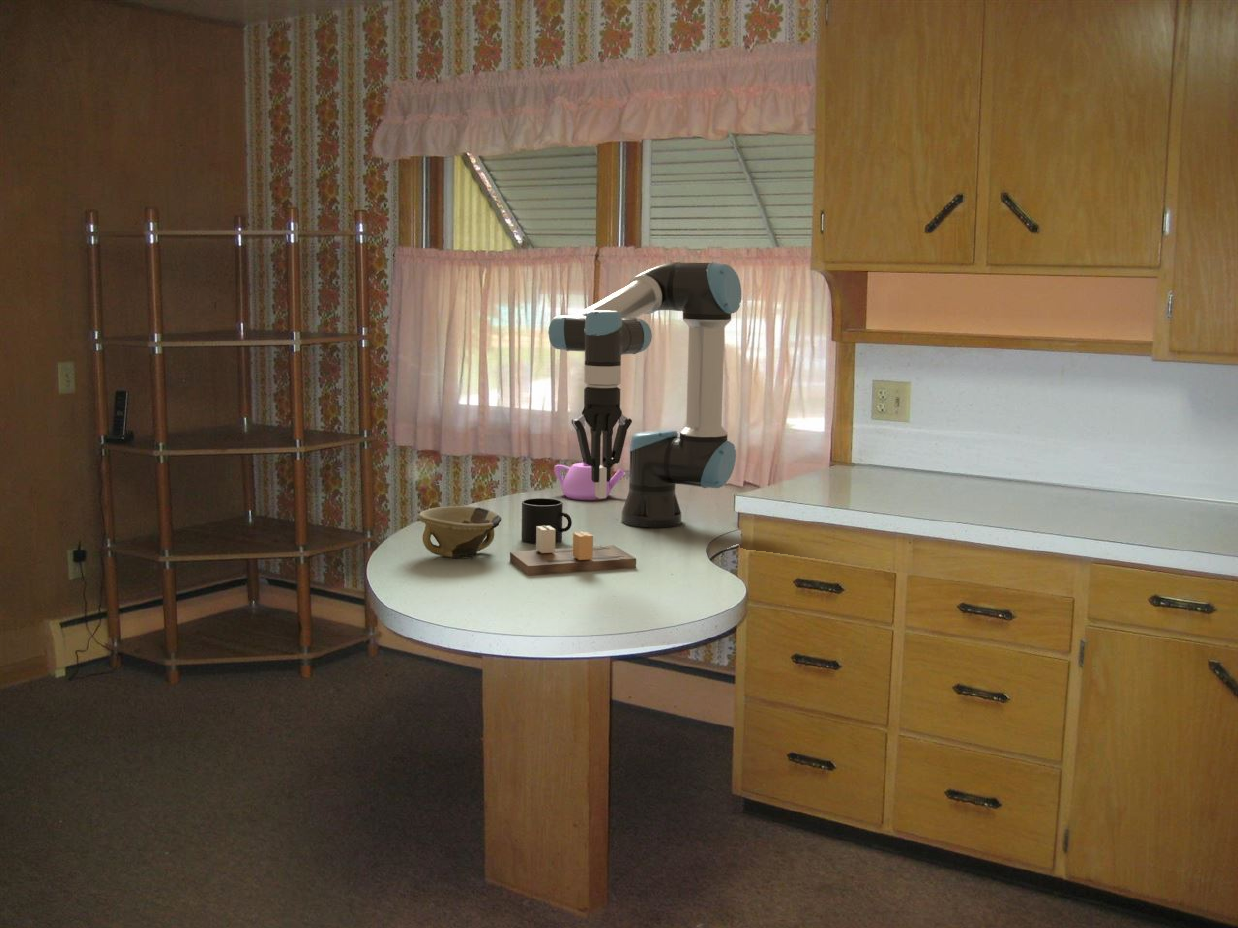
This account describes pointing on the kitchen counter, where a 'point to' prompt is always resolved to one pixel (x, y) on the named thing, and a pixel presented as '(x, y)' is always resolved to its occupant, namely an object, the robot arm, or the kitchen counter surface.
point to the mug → (542, 518)
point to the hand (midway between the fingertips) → (600, 497)
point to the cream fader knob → (545, 539)
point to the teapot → (582, 481)
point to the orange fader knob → (582, 545)
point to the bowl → (458, 530)
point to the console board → (571, 560)
